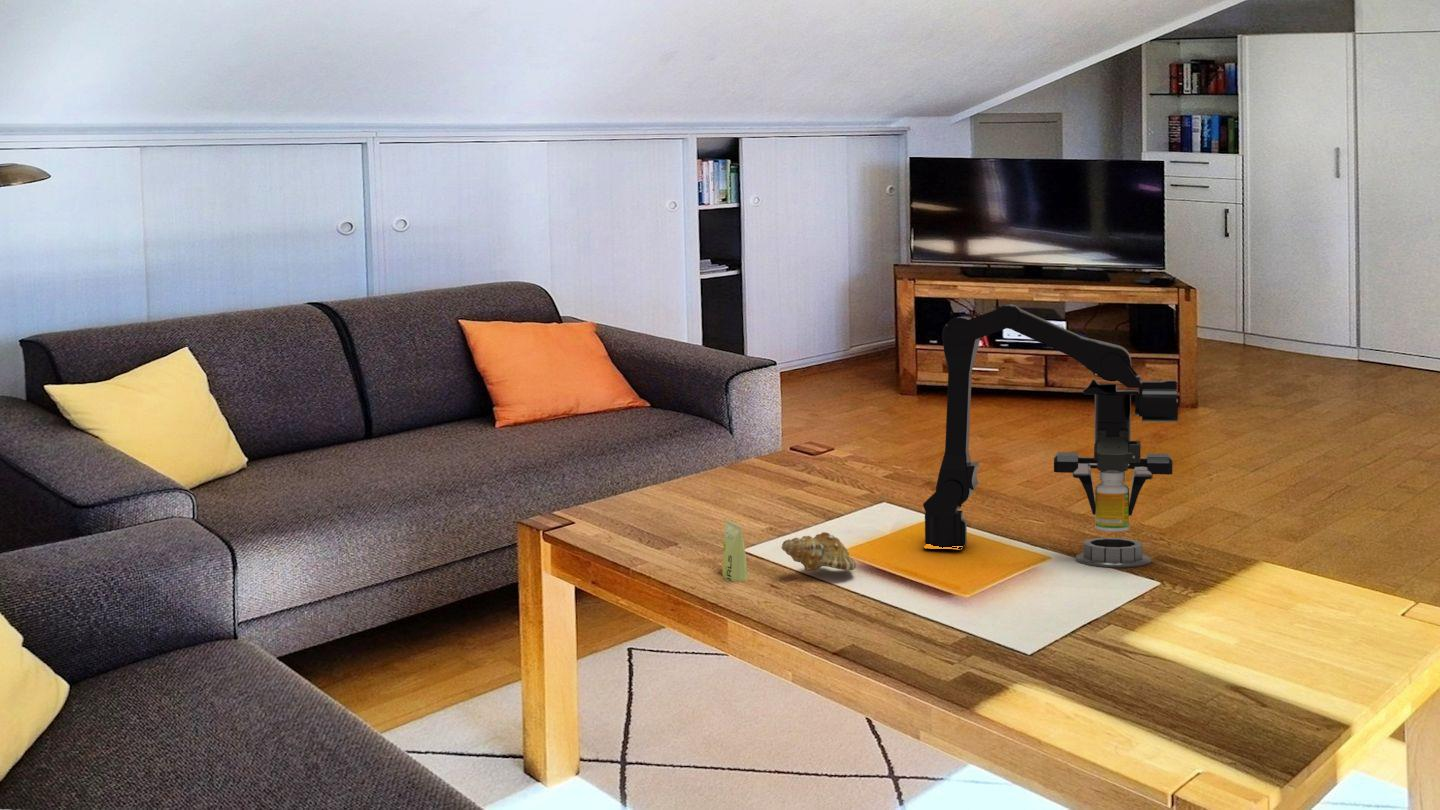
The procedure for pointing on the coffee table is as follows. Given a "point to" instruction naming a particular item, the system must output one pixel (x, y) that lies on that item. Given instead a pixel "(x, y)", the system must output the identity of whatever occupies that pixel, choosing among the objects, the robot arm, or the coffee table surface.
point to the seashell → (819, 552)
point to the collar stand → (1113, 553)
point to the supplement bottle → (1112, 502)
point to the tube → (734, 554)
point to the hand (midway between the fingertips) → (1112, 514)
